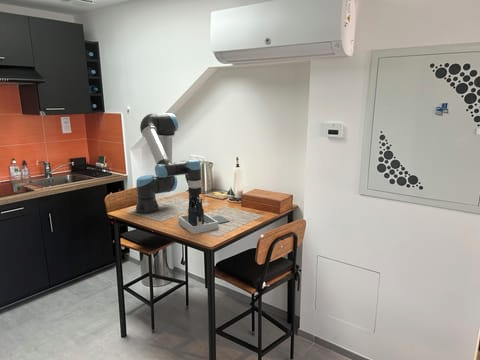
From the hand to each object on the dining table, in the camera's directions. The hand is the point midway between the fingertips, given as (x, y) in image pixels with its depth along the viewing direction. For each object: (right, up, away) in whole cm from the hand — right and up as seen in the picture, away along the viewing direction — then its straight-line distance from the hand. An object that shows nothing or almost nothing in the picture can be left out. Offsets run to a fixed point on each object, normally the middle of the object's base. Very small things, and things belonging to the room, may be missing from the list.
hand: (196, 224), depth 203 cm
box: (0, -1, 0) cm, 1 cm away
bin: (+1, -1, +1) cm, 1 cm away
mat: (+12, +1, +9) cm, 15 cm away
